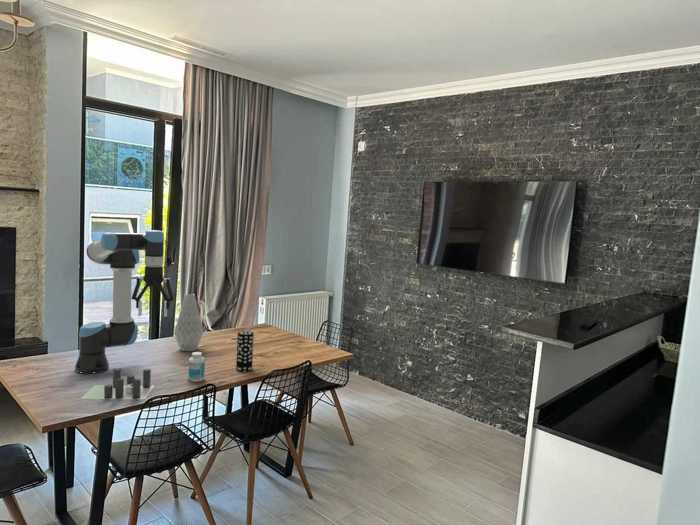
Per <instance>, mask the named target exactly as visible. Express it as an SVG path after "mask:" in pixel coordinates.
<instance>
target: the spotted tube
mask: <svg viewBox="0 0 700 525" xmlns="http://www.w3.org/2000/svg"><path fill="white" fill-rule="evenodd" d="M236 342H237V343H236V361H235V362H236V365H235V370H236V371H237V372H239V373H249V371H250V372H252V371H253V358H254V357H253V356H254V331H251V330H250V331H249V330H242V331H238V332H237V339H236Z"/></svg>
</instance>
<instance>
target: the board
mask: <svg viewBox="0 0 700 525" xmlns="http://www.w3.org/2000/svg"><path fill="white" fill-rule="evenodd" d="M104 386H105V384H94V385H93V386H92V387H91V388H90V389H89V390H88V391H87V392H86V393H84V395H83V396H82V397H81V398H80V400H106V399H105V398H104ZM126 387H127V384H125V385H124V393H123V398H121V399H120V400H134V399H133V398H132V395H131V394H127V393H126ZM154 387H155V385H150V388H143V385H141V392H140V398H138V399H137V400H146V398H147V397H148V396H149V394H150V393H151V391H152V390H153V388H154ZM108 400H117V399H116V398H115V388H113V394H112V398H109V399H108Z"/></svg>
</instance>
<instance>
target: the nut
mask: <svg viewBox="0 0 700 525" xmlns="http://www.w3.org/2000/svg"><path fill="white" fill-rule="evenodd" d="M126 385H127V384H126ZM132 391H133V384H128V385H127V387H126V393H127V394H131V395H132Z"/></svg>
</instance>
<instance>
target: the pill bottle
mask: <svg viewBox="0 0 700 525" xmlns="http://www.w3.org/2000/svg"><path fill="white" fill-rule="evenodd" d="M202 355H203V352H200V351H195V352H193V351H192V353H191V357H189V359H188V381H189V382H192V383H199V382H202V381H204V379H205V360H206V359H205V357H203V356H202Z"/></svg>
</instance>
